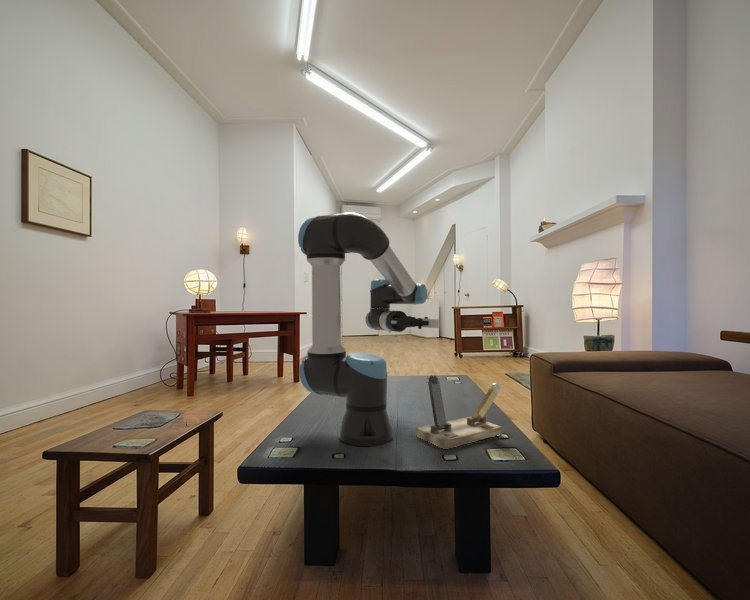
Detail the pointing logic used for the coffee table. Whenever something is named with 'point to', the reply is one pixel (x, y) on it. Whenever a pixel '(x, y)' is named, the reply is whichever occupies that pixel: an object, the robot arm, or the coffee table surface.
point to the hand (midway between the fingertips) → (437, 323)
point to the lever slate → (437, 402)
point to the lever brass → (486, 402)
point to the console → (458, 432)
